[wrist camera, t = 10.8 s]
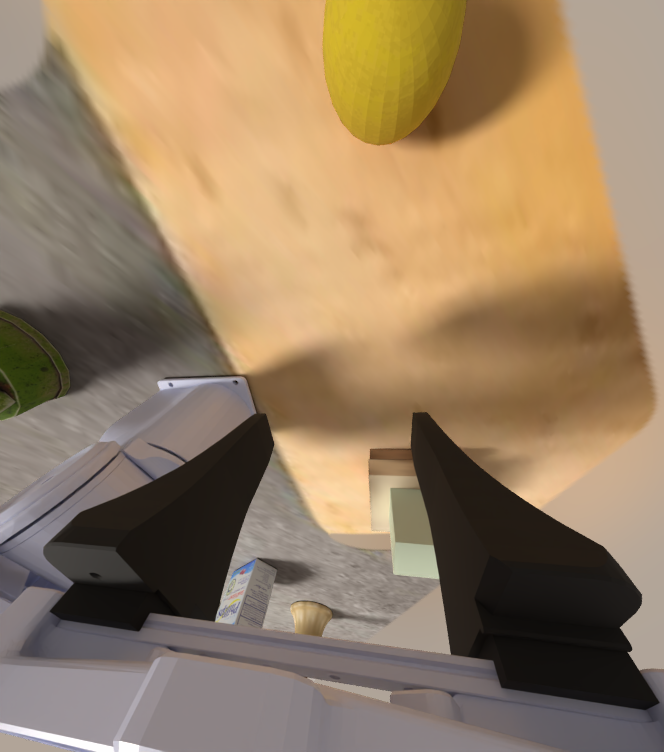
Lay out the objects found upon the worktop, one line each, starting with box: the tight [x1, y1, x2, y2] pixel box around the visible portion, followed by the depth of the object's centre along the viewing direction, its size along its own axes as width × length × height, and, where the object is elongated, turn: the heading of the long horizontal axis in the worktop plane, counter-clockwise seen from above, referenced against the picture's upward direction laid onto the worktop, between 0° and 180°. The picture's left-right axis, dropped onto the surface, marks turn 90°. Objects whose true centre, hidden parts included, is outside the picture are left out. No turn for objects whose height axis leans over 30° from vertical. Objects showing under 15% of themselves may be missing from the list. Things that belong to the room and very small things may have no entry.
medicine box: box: [215, 558, 277, 628], centre depth 39 cm, size 8×4×9 cm, turn 138°
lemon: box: [323, 0, 467, 145], centre depth 10 cm, size 6×6×8 cm
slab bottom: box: [370, 449, 413, 460], centre depth 27 cm, size 9×9×2 cm
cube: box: [389, 488, 439, 579], centre depth 22 cm, size 5×5×5 cm
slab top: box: [369, 459, 420, 532], centre depth 26 cm, size 9×9×2 cm
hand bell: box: [291, 601, 333, 678], centre depth 41 cm, size 8×8×16 cm
